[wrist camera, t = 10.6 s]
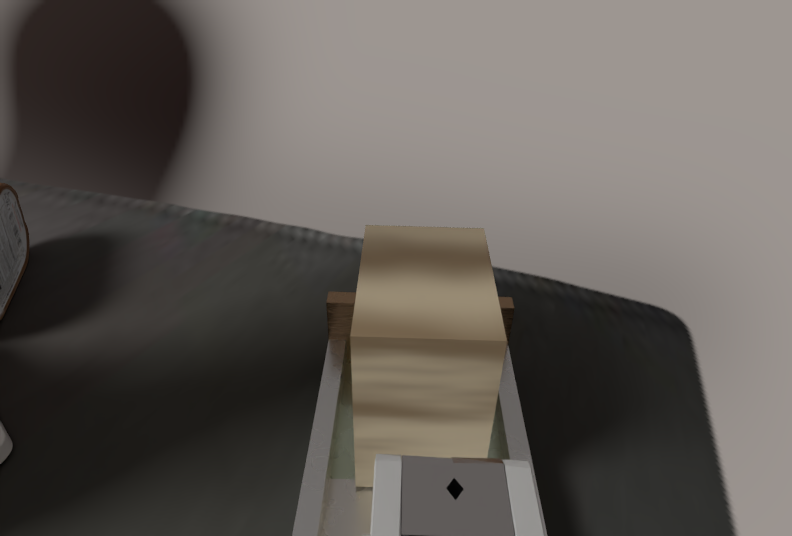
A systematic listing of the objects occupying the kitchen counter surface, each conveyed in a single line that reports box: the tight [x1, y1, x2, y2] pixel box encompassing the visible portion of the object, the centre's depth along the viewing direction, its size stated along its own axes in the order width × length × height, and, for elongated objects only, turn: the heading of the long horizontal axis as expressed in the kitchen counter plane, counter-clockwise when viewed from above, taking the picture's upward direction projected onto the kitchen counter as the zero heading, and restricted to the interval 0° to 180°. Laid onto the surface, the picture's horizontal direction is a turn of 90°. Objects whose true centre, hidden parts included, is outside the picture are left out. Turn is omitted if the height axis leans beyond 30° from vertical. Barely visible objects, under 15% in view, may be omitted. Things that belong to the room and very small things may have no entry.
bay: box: [292, 292, 547, 536], centre depth 29 cm, size 26×12×6 cm, turn 178°
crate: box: [350, 225, 507, 487], centre depth 33 cm, size 11×7×11 cm, turn 178°
